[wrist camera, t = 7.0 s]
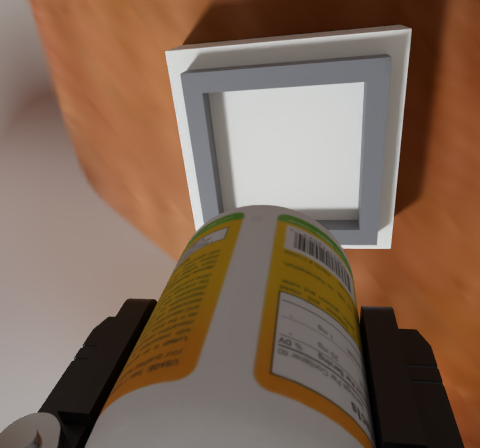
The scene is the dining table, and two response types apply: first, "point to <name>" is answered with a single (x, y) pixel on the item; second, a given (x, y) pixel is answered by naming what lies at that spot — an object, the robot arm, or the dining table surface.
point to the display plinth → (296, 126)
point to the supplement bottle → (248, 345)
